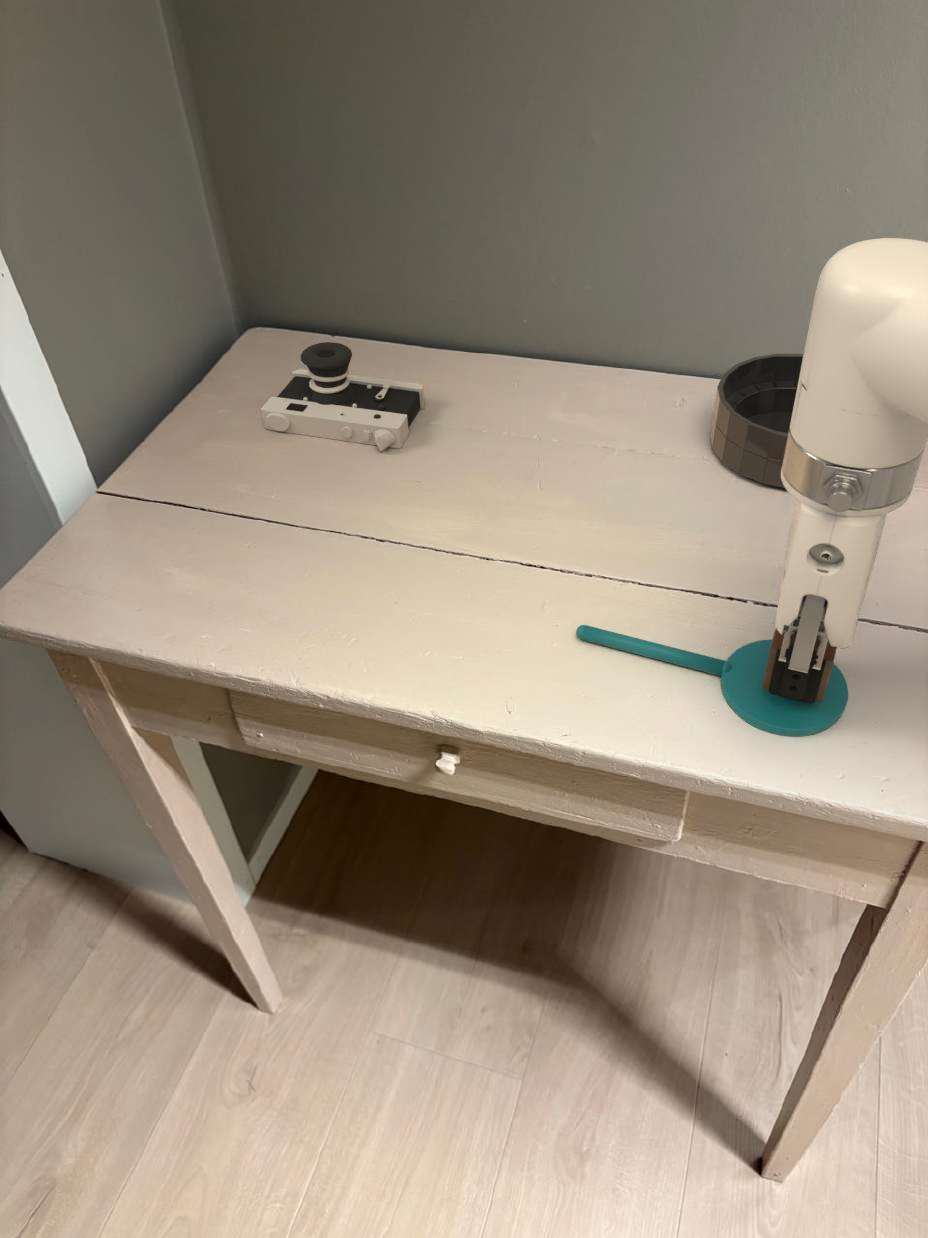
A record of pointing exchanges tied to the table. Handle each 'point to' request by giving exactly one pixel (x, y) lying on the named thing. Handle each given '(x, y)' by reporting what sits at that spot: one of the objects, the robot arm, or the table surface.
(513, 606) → the table surface
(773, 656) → the block
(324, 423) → the camera
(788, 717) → the teal lollipop paddle
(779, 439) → the shallow round bowl
